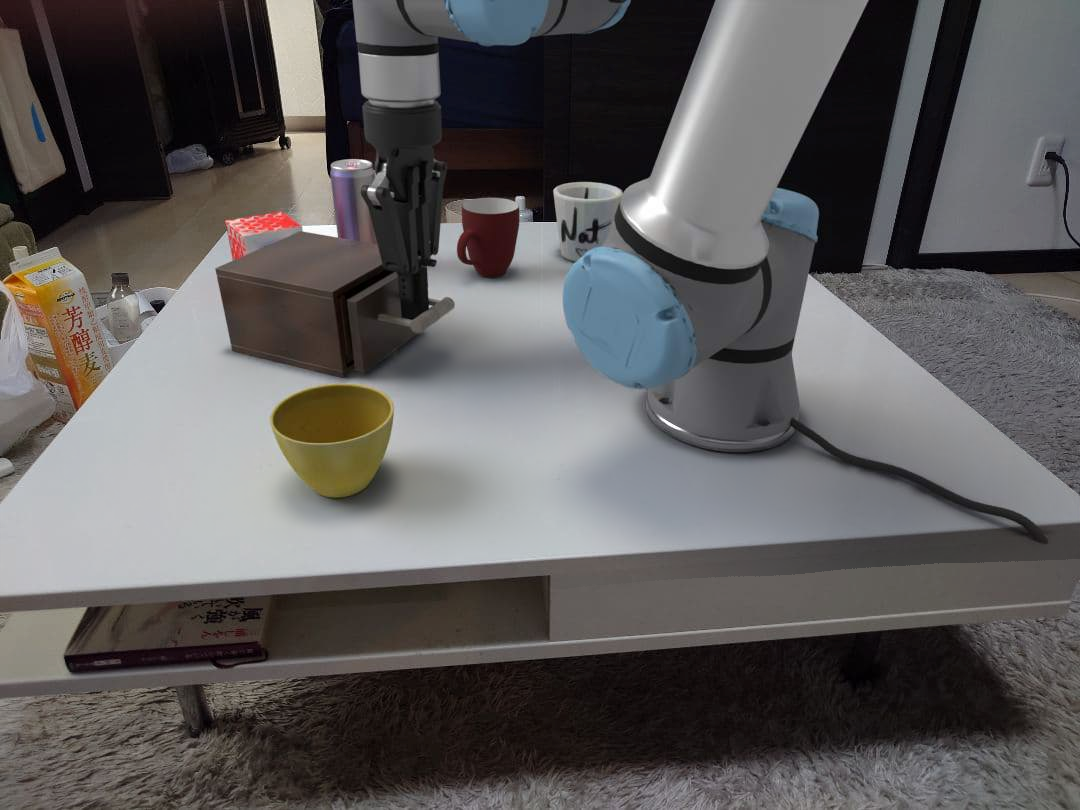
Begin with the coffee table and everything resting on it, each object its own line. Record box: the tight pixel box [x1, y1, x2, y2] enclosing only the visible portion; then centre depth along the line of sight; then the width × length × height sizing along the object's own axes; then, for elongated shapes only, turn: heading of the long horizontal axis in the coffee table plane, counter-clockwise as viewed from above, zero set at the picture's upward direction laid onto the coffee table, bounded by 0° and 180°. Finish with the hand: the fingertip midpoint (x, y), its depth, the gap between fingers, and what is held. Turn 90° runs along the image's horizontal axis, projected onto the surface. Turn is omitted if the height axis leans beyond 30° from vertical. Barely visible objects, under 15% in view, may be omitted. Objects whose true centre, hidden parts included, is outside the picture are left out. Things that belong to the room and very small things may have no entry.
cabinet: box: [214, 231, 385, 379], centre depth 90 cm, size 16×15×10 cm
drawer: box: [338, 270, 455, 374], centre depth 88 cm, size 20×13×8 cm, turn 67°
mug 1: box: [456, 197, 520, 279], centre depth 109 cm, size 11×8×10 cm
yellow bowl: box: [269, 382, 395, 498], centre depth 67 cm, size 10×10×7 cm
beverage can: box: [329, 158, 377, 244], centre depth 110 cm, size 6×6×15 cm
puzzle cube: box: [225, 211, 304, 261], centre depth 108 cm, size 8×8×8 cm
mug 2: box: [552, 181, 624, 262], centre depth 120 cm, size 10×15×10 cm
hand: (416, 323), depth 86 cm, fingers closed
